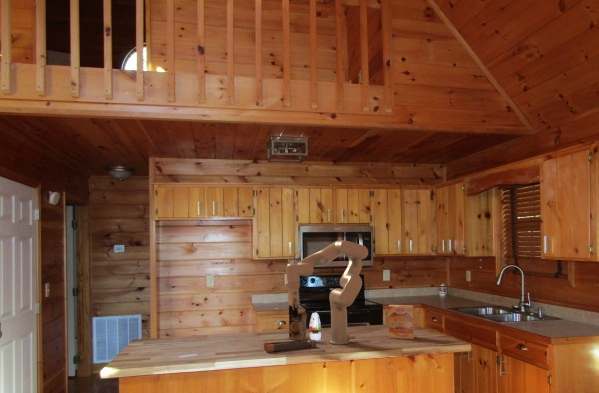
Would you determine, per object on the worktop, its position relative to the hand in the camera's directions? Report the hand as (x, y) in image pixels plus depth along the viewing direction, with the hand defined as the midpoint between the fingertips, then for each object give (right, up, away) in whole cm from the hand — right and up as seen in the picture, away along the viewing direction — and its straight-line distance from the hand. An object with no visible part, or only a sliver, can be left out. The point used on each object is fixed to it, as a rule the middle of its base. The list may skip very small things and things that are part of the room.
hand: (293, 315), depth 258 cm
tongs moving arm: (-2, -17, -5) cm, 18 cm away
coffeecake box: (+67, -20, +21) cm, 73 cm away
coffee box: (+2, -20, +21) cm, 29 cm away
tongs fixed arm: (-2, -18, -2) cm, 18 cm away
